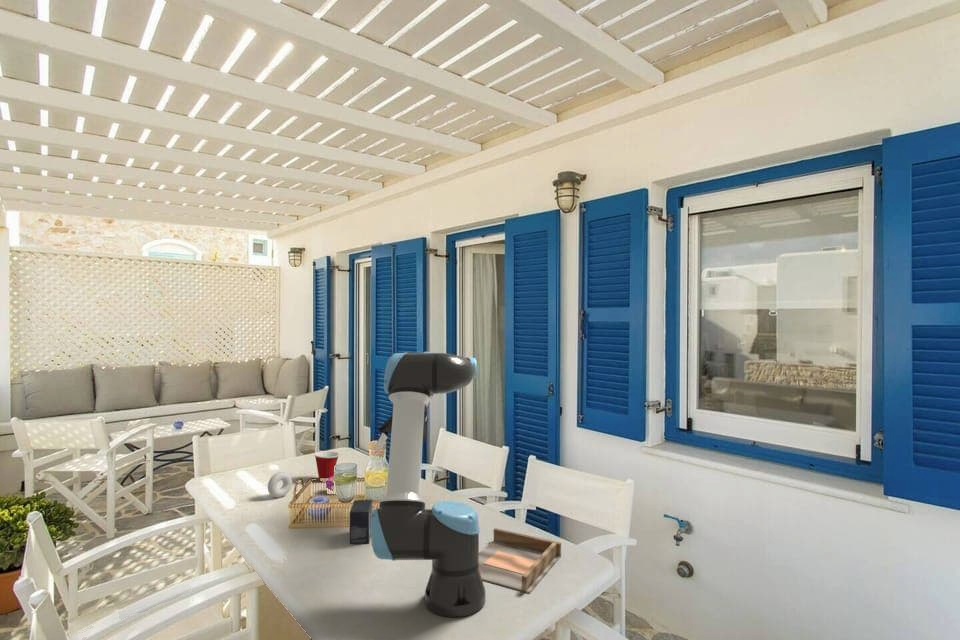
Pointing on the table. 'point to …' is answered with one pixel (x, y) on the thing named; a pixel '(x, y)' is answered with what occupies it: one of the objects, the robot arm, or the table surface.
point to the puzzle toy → (330, 484)
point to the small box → (360, 522)
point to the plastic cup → (326, 463)
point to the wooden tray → (517, 560)
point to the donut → (275, 479)
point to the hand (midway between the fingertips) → (391, 454)
